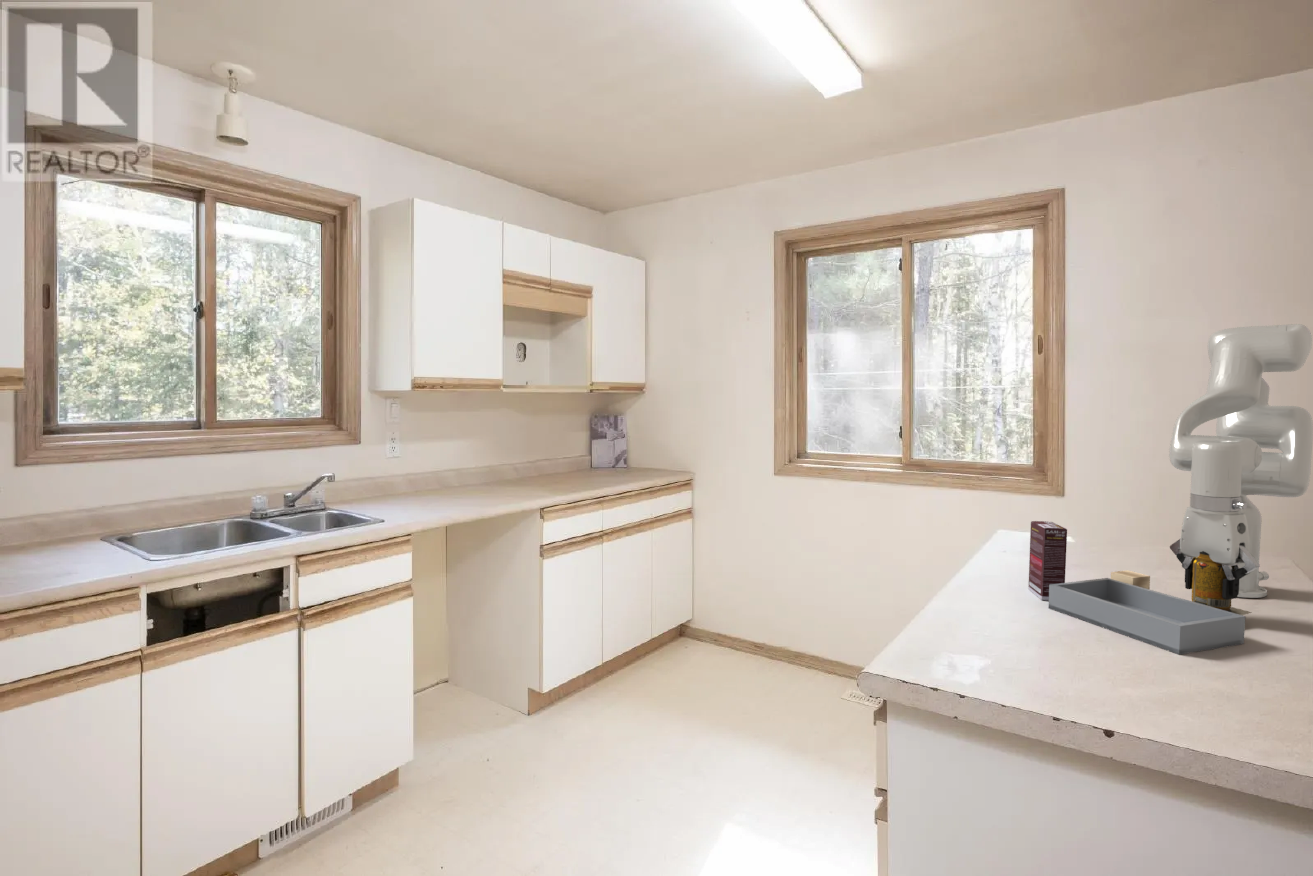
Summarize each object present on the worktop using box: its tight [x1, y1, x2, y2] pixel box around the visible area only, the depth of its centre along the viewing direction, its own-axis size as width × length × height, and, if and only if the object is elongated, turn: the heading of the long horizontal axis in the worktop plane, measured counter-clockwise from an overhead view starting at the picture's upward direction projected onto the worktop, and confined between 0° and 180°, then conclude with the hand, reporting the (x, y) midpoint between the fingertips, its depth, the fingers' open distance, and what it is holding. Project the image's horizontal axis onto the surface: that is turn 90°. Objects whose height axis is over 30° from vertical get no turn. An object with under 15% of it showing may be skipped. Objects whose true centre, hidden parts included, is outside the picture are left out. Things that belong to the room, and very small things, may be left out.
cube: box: [1110, 569, 1151, 590], centre depth 146 cm, size 5×5×5 cm
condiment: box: [1191, 551, 1252, 616], centre depth 131 cm, size 7×8×12 cm
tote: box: [1048, 577, 1246, 656], centre depth 128 cm, size 16×26×5 cm, turn 17°
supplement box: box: [1028, 520, 1068, 602], centre depth 147 cm, size 9×5×16 cm, turn 168°
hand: (1210, 592), depth 132 cm, fingers closed on condiment, 6 cm apart
